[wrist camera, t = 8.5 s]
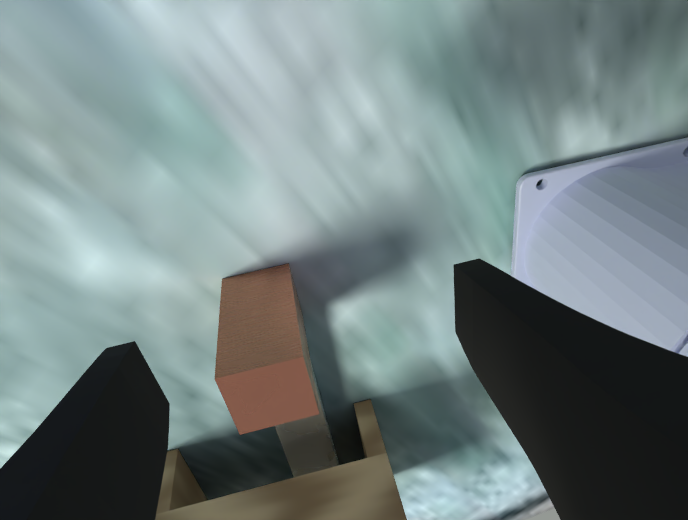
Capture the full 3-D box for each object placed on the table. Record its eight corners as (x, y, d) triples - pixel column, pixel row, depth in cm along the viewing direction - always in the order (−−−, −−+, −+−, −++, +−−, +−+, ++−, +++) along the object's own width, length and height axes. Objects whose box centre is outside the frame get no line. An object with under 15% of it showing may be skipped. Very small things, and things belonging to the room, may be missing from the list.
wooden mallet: (288, 263, 20) (303, 356, 15) (346, 478, 30) (367, 580, 25) (222, 278, 20) (214, 379, 15) (301, 490, 29) (312, 596, 24)
